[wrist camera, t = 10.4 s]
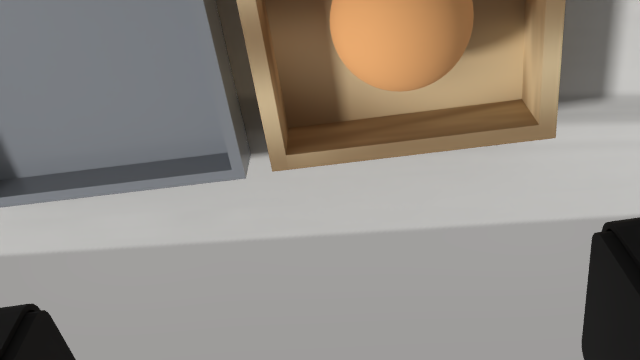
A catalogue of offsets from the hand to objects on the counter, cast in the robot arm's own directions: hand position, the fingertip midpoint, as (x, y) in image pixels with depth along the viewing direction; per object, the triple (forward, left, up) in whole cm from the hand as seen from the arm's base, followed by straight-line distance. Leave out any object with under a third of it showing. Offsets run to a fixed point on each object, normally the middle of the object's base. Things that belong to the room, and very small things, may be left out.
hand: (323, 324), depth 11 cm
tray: (0, +3, -21) cm, 22 cm away
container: (0, -13, -21) cm, 25 cm away
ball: (+1, +3, -21) cm, 21 cm away
